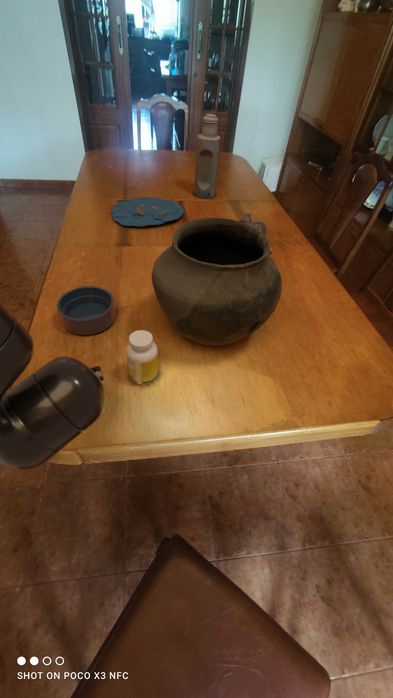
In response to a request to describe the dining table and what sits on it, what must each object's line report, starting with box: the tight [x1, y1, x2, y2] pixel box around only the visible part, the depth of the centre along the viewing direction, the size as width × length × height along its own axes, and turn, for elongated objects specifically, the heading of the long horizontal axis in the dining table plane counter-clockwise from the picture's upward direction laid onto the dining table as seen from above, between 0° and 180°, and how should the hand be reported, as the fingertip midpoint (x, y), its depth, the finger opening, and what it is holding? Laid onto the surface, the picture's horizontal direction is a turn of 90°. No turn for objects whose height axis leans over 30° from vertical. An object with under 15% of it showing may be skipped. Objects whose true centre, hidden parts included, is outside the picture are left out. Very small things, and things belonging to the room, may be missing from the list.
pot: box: [151, 217, 283, 346], centre depth 75 cm, size 29×32×25 cm
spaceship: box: [241, 212, 273, 255], centre depth 114 cm, size 8×35×8 cm
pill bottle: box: [125, 329, 160, 385], centre depth 67 cm, size 6×6×12 cm
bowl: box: [56, 285, 117, 336], centre depth 81 cm, size 14×14×6 cm
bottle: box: [193, 113, 221, 199], centre depth 135 cm, size 10×10×30 cm
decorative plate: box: [110, 196, 184, 228], centre depth 126 cm, size 30×30×5 cm
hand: (63, 380), depth 60 cm, fingers open, 3 cm apart
